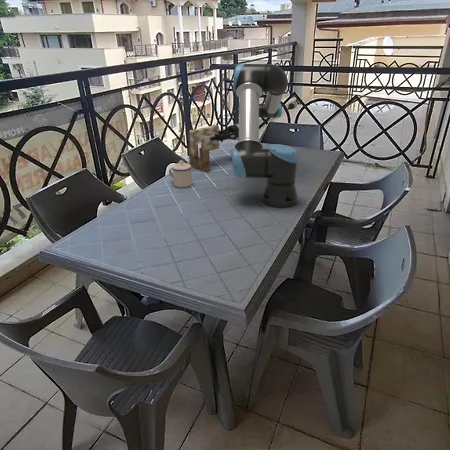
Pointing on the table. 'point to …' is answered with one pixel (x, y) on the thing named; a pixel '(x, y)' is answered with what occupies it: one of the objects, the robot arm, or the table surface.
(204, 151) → the brown wooden u block
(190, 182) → the teacup with lid
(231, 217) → the table surface
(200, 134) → the birch board
